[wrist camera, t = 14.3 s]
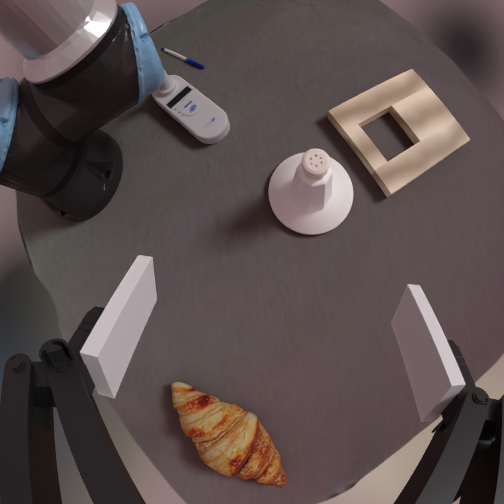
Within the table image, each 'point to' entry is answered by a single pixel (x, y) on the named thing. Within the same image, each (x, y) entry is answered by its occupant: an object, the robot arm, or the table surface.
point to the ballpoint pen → (184, 58)
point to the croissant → (228, 437)
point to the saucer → (299, 217)
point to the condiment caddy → (410, 120)
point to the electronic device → (192, 109)
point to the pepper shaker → (312, 181)
